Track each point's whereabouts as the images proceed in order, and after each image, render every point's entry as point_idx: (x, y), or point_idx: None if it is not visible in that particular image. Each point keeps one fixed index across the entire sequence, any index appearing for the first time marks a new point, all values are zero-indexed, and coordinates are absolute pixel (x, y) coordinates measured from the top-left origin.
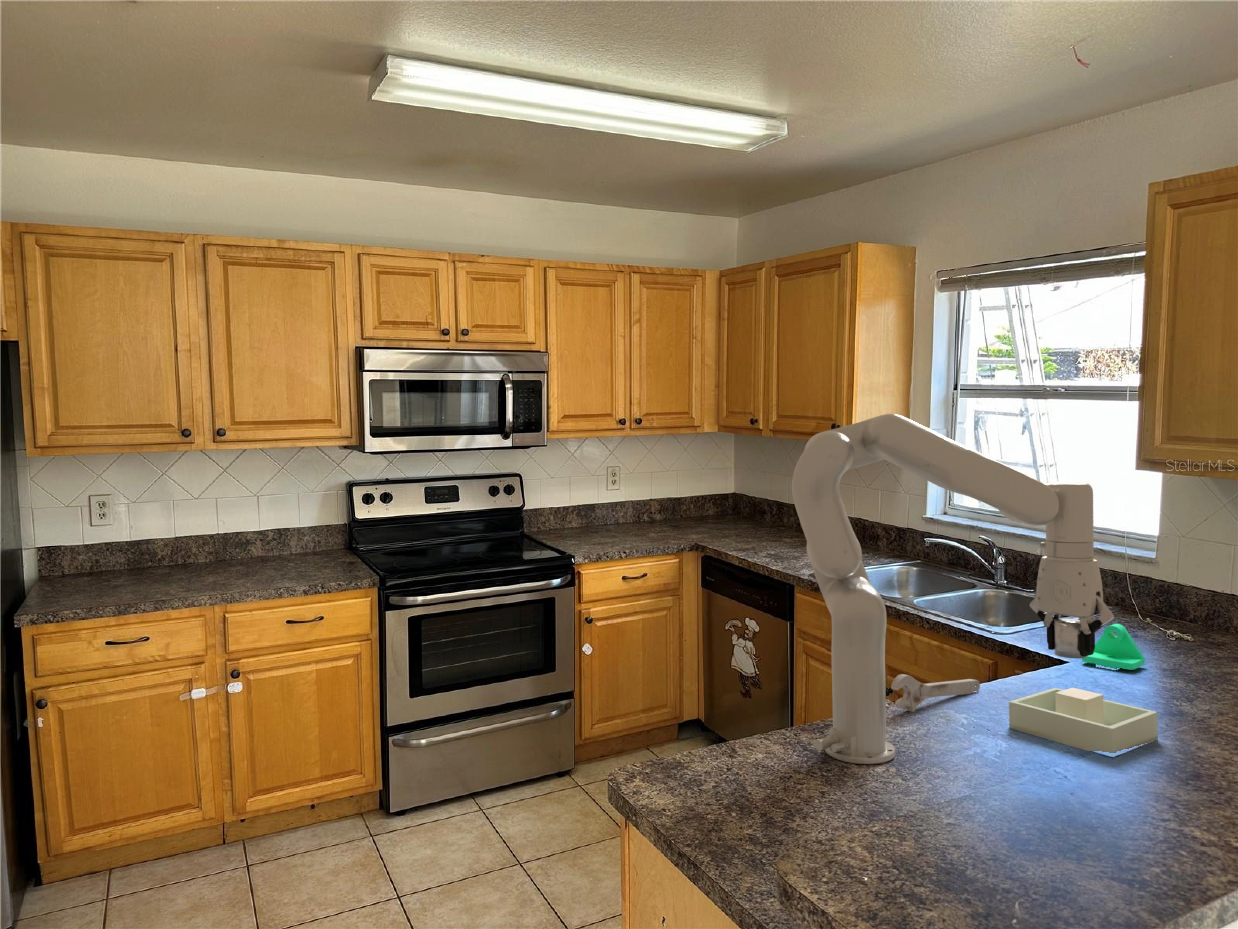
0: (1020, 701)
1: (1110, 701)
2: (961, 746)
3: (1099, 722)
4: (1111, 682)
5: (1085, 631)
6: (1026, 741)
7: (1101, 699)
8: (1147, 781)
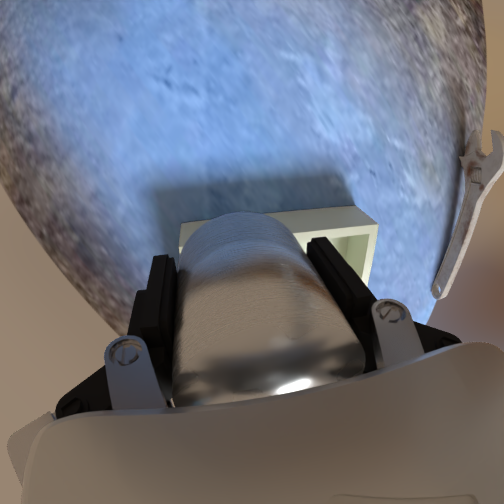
0: (367, 243)
1: None
2: (354, 67)
3: None
4: None
5: (133, 349)
6: (307, 173)
7: None
8: (94, 184)
